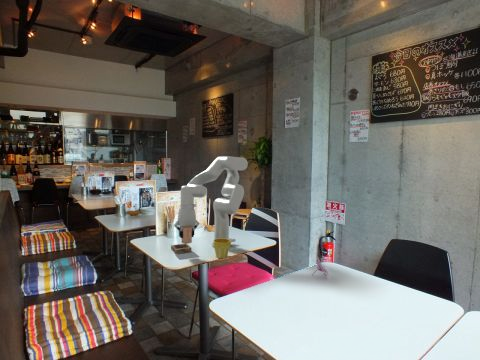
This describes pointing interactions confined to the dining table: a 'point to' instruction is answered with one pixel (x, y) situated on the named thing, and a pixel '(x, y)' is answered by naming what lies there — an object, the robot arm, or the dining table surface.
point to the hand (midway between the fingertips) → (186, 236)
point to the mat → (186, 255)
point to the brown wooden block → (187, 234)
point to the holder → (183, 249)
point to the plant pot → (221, 247)
